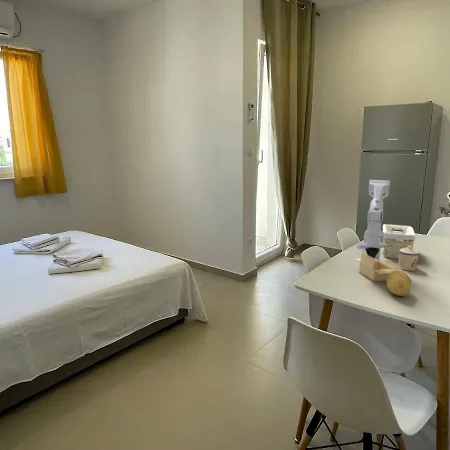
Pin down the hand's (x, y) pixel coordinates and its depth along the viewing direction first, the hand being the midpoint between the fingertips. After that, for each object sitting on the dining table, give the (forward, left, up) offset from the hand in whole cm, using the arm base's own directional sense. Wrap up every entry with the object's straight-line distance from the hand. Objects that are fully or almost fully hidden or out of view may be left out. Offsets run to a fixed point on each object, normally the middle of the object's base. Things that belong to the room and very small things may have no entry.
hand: (370, 262), depth 174 cm
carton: (0, +5, -7) cm, 9 cm away
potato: (+21, 0, -7) cm, 23 cm away
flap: (0, -2, +1) cm, 2 cm away
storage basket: (-32, +36, -7) cm, 49 cm away
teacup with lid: (-9, +27, -7) cm, 29 cm away
